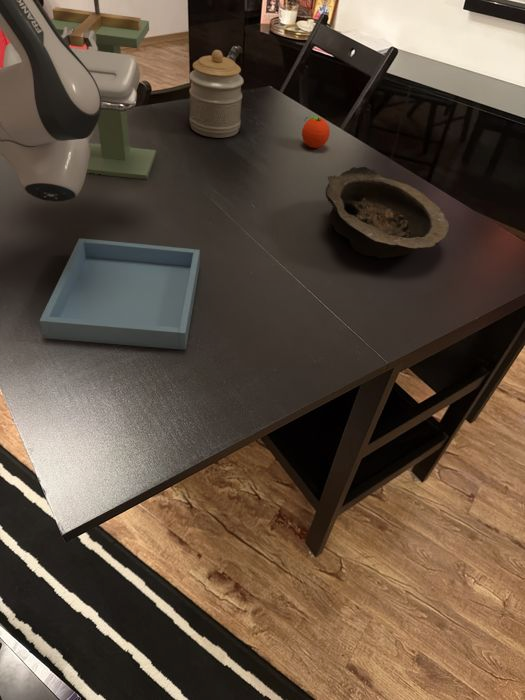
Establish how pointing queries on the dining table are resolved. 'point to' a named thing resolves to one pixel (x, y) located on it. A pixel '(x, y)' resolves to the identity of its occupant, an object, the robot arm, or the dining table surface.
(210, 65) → the jar
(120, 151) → the green pedestal stand
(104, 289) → the tray
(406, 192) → the stone bowl
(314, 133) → the clementine
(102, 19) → the wooden t-shaped piece
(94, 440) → the dining table surface
